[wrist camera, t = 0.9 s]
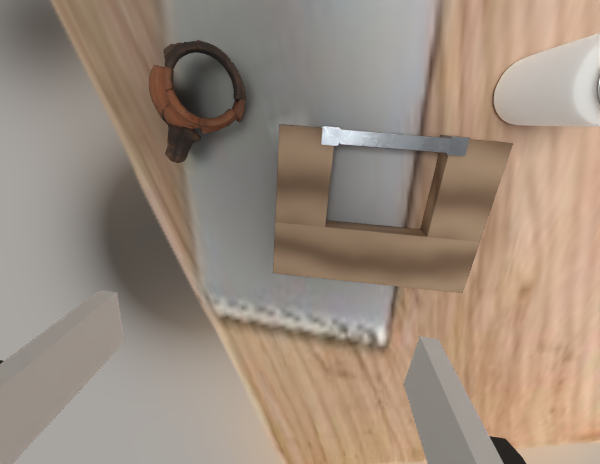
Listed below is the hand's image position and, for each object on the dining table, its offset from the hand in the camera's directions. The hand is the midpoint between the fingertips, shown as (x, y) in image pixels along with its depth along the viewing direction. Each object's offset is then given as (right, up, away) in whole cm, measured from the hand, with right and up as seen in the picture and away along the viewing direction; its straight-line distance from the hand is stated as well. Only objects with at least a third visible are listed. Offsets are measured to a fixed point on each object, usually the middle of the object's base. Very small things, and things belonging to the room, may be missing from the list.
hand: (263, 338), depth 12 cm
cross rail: (+11, +15, +20) cm, 27 cm away
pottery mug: (-9, +19, +20) cm, 29 cm away
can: (+25, +19, +17) cm, 36 cm away
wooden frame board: (+11, +7, +23) cm, 26 cm away
